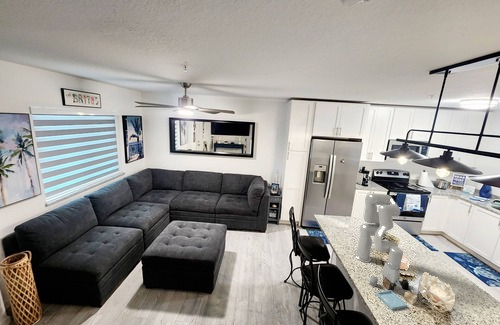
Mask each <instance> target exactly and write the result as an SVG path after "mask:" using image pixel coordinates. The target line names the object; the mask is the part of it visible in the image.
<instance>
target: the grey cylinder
mask: <svg viewBox="0 0 500 325" xmlns="http://www.w3.org/2000/svg"><path fill="white" fill-rule="evenodd" d="M378 281H379V279H378V278H377V277H376V276H374V275H372V276H371V277H370V279H369V285H370V286H372V288H376V287H377V286H378V283H379V282H378Z"/></svg>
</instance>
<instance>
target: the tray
mask: <svg viewBox="0 0 500 325" xmlns="http://www.w3.org/2000/svg"><path fill="white" fill-rule="evenodd" d="M375 293H376V294H375V295H376V296H377V297H378V298H379V299H380V300H381V301H382V302H383V303H384V304H385V305H386V307H388V308H389V309H390V310H391V311H393V310H400V309H406V308H407V307H408V304H407V303H406V301H403V299H401V298H400V297H399V296H398V295H397V294H396V293H395V292H394V290H383V291H376V292H375Z"/></svg>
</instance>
